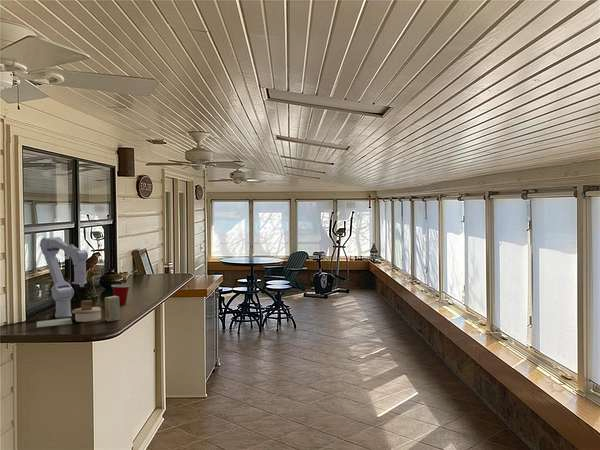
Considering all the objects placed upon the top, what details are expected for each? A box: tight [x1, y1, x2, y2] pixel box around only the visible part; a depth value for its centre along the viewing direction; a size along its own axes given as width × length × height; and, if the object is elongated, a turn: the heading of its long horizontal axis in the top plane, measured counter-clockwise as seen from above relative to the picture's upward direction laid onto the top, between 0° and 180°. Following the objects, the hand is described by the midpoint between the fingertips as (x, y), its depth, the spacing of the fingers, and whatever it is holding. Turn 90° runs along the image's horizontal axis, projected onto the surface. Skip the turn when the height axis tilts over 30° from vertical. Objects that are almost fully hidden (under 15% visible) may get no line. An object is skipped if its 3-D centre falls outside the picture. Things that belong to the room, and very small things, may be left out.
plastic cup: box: [111, 284, 131, 306], centre depth 318 cm, size 11×11×12 cm
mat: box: [36, 317, 73, 328], centre depth 266 cm, size 16×16×1 cm
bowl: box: [74, 310, 102, 323], centre depth 273 cm, size 12×12×4 cm
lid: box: [71, 299, 102, 314], centre depth 273 cm, size 14×14×6 cm
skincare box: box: [104, 295, 121, 322], centre depth 271 cm, size 6×4×12 cm
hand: (80, 299), depth 276 cm, fingers open, 7 cm apart
